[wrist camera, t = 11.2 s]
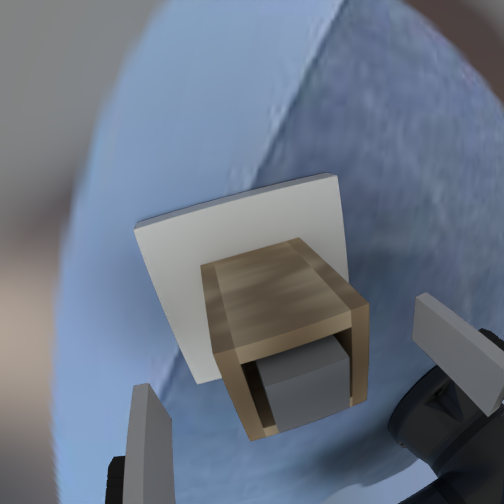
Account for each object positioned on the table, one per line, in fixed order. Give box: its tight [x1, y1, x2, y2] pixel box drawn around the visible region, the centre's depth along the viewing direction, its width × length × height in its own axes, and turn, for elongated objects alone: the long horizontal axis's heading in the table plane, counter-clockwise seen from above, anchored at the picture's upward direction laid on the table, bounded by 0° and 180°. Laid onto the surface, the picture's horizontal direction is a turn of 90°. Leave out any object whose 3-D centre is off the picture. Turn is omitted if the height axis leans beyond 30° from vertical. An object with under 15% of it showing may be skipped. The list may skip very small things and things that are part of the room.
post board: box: [133, 173, 350, 433], centre depth 16 cm, size 12×12×10 cm
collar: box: [200, 237, 369, 441], centre depth 15 cm, size 6×6×8 cm
